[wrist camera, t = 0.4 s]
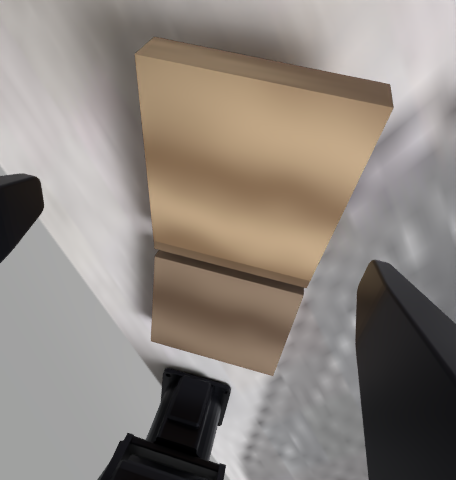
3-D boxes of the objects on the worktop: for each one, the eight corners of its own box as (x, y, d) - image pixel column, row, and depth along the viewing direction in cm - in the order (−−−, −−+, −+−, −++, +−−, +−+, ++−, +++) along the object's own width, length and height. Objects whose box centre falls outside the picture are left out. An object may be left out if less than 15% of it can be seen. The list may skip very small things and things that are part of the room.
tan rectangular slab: (309, 263, 23) (306, 288, 22) (165, 227, 24) (154, 248, 23) (390, 84, 14) (393, 108, 13) (153, 36, 15) (134, 53, 14)
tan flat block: (275, 353, 29) (272, 376, 27) (160, 321, 30) (150, 341, 28) (304, 274, 24) (303, 295, 22) (166, 239, 25) (154, 256, 23)
